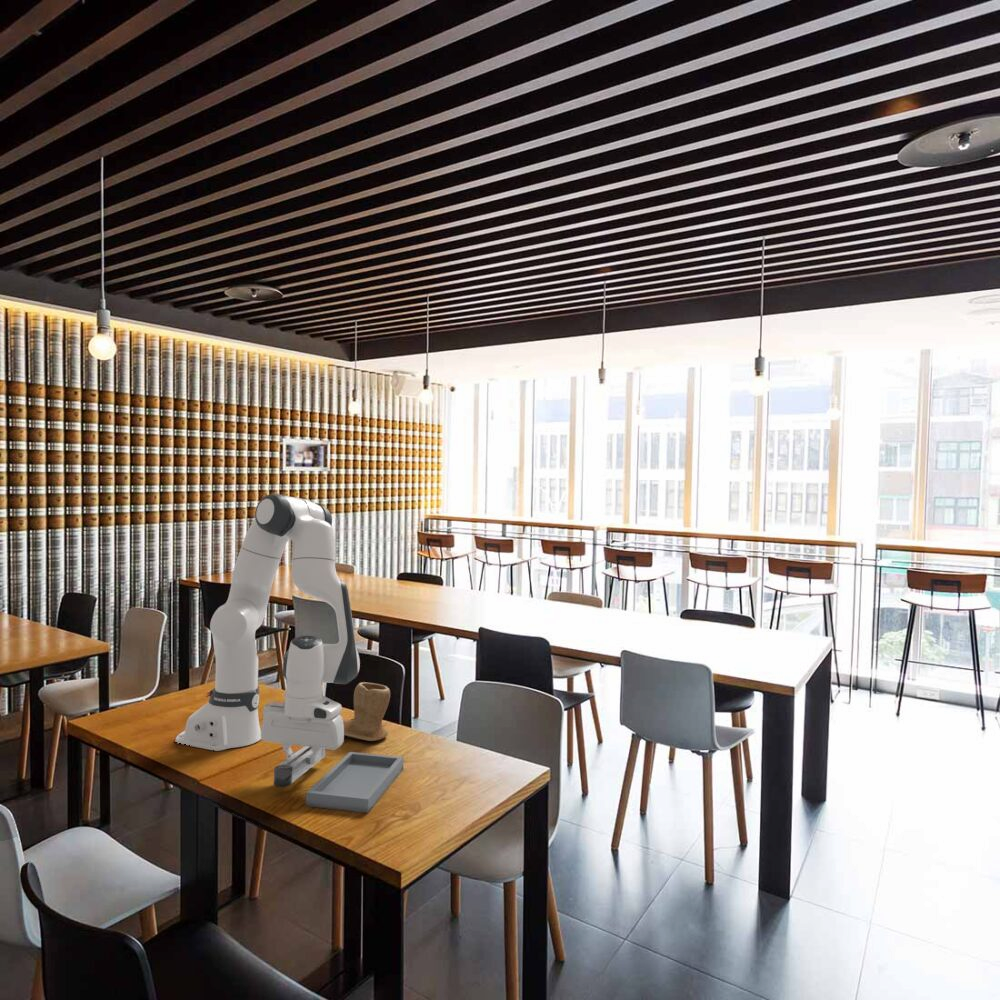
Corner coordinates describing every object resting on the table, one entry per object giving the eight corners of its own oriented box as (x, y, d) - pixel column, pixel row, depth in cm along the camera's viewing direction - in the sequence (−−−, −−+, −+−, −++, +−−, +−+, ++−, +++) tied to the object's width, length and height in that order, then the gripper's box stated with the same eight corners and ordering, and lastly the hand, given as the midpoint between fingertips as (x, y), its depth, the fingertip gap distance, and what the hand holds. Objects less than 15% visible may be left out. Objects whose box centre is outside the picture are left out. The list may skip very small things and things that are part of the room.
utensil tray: (305, 806, 152) (306, 792, 152) (349, 763, 177) (349, 751, 177) (368, 813, 149) (368, 799, 149) (403, 768, 174) (403, 757, 174)
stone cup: (397, 735, 199) (399, 683, 199) (371, 747, 188) (372, 692, 188) (357, 725, 206) (358, 675, 206) (329, 736, 196) (331, 684, 196)
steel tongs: (270, 785, 156) (270, 770, 156) (310, 754, 175) (311, 740, 175) (286, 787, 155) (287, 772, 155) (325, 756, 175) (326, 742, 175)
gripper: (257, 704, 165) (254, 762, 165) (337, 713, 161) (334, 772, 161) (270, 697, 171) (268, 753, 171) (348, 705, 167) (345, 762, 167)
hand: (300, 762), depth 166 cm, fingers closed on steel tongs, 4 cm apart
